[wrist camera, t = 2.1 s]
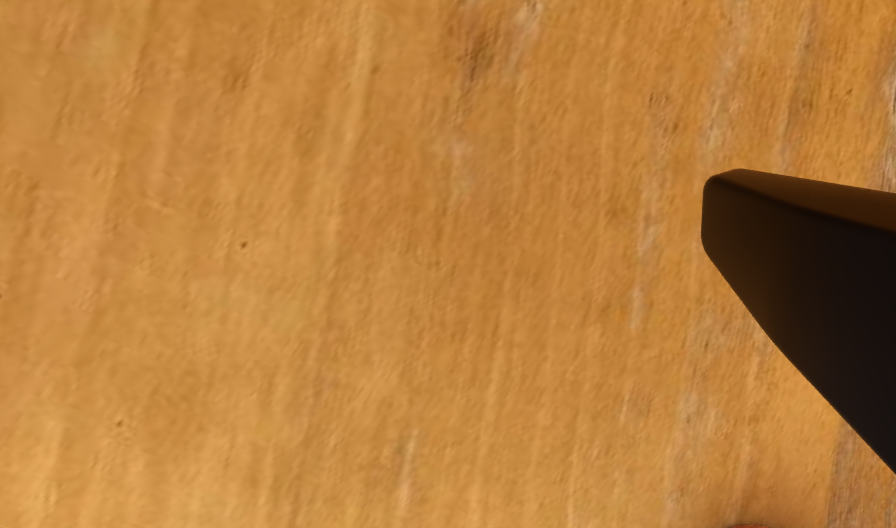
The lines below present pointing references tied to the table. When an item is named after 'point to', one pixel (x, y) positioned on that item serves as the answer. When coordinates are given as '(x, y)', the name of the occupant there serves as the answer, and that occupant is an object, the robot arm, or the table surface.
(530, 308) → the table surface
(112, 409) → the table surface
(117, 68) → the table surface
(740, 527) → the upturned cup
